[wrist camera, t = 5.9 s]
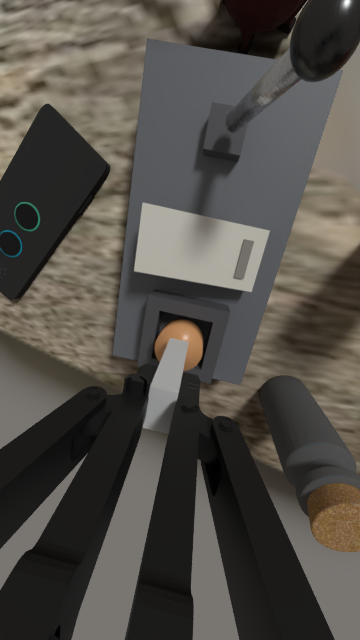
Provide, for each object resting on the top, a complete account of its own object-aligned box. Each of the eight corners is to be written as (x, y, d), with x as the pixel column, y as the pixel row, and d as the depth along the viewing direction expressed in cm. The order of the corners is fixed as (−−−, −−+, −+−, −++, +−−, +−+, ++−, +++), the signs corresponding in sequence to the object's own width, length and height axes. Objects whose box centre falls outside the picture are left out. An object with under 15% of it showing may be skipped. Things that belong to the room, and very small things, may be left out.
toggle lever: (250, 109, 16) (400, -26, 7) (241, 150, 17) (365, 70, 8) (218, 96, 15) (342, -69, 7) (210, 139, 16) (311, 41, 8)
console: (312, 109, 21) (366, 40, 14) (235, 362, 29) (243, 400, 22) (160, 83, 22) (137, 5, 14) (127, 337, 30) (102, 366, 23)
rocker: (263, 230, 19) (271, 230, 18) (246, 289, 21) (252, 292, 20) (143, 204, 18) (142, 201, 17) (135, 269, 20) (133, 271, 18)
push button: (207, 323, 21) (207, 333, 19) (198, 362, 22) (196, 376, 20) (164, 314, 21) (158, 322, 19) (157, 353, 22) (151, 365, 20)
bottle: (260, 414, 31) (303, 556, 17) (258, 376, 30) (303, 498, 15) (306, 412, 30) (393, 560, 16) (307, 373, 29) (403, 499, 14)
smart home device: (-44, 254, 28) (43, 97, 22) (-30, 254, 30) (54, 107, 24) (12, 303, 29) (109, 166, 23) (22, 300, 31) (115, 171, 25)
